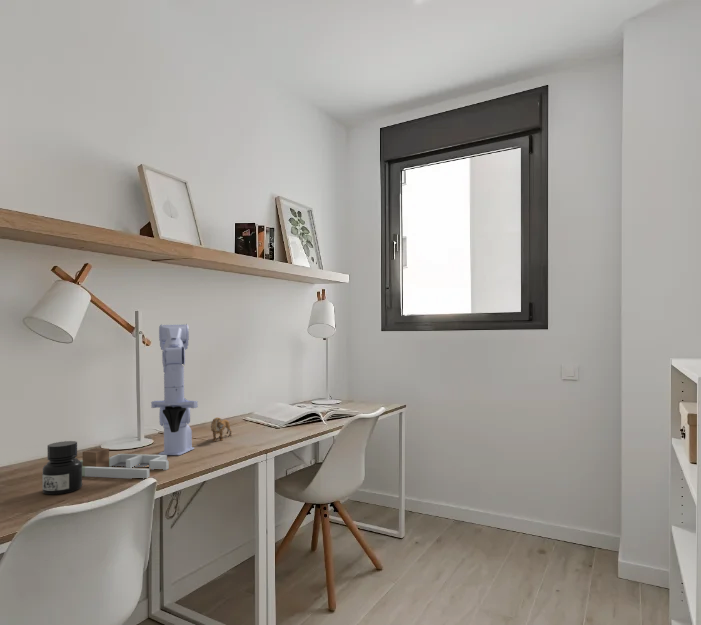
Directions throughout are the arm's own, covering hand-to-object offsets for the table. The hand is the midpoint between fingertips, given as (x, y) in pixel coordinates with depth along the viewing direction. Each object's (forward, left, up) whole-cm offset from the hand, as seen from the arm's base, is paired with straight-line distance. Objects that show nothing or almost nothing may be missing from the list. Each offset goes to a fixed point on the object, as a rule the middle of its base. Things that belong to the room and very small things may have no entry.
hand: (174, 431), depth 151 cm
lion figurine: (-38, -4, -11) cm, 40 cm away
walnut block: (+7, -22, -10) cm, 25 cm away
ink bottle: (+25, -17, -11) cm, 32 cm away
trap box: (+5, -14, -10) cm, 18 cm away
